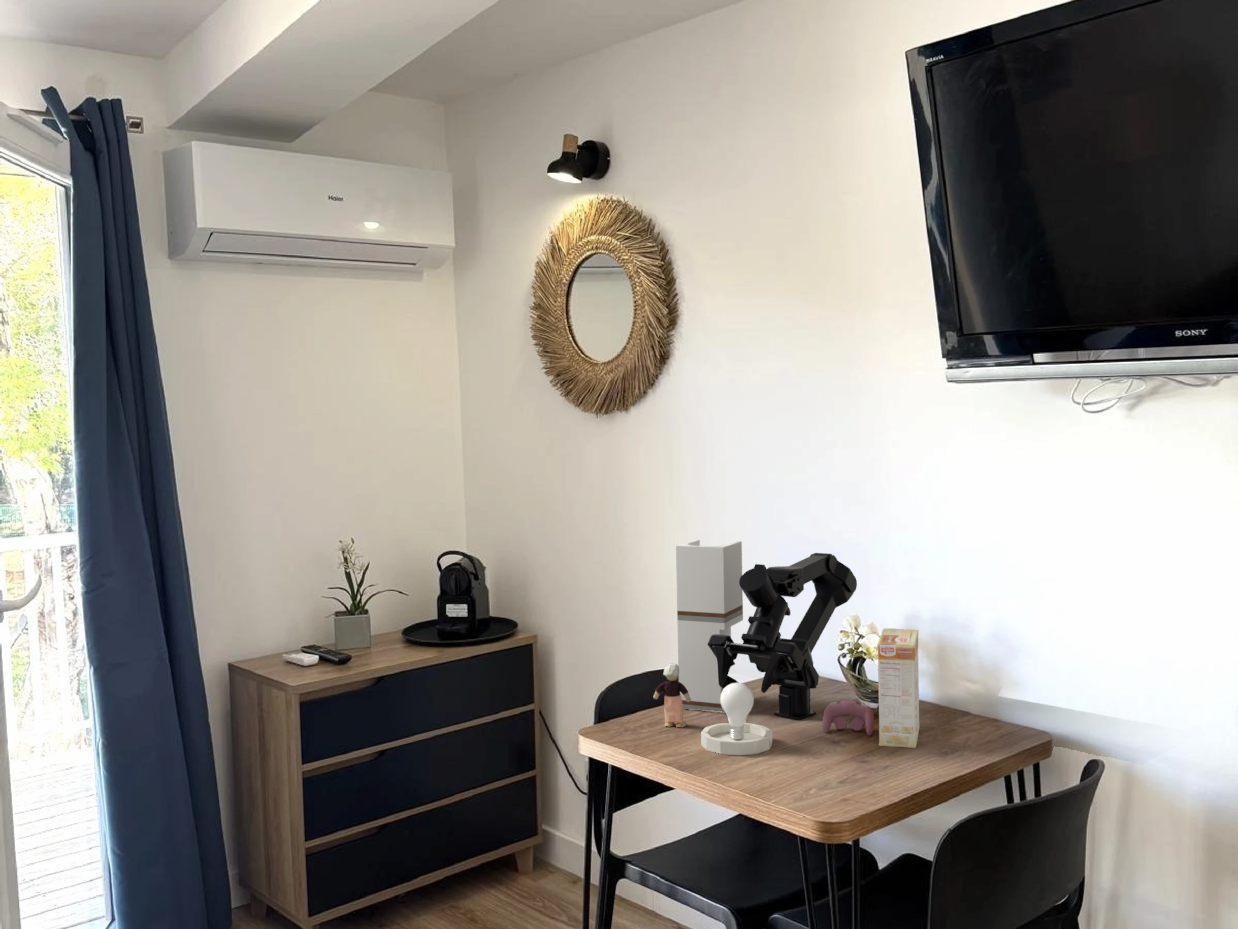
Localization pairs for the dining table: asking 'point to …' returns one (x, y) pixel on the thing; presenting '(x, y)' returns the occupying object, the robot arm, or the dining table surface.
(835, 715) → the video game controller
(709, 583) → the white tower with stripe
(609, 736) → the dining table surface
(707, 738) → the dish
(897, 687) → the coffeecake box
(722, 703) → the lightbulb
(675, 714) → the grandmother figurine
